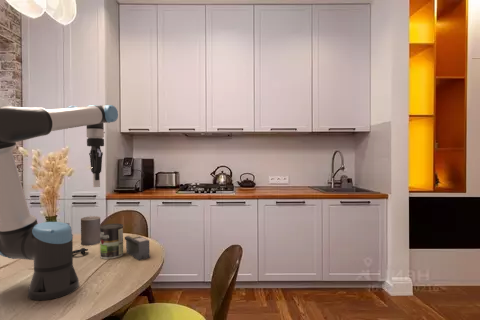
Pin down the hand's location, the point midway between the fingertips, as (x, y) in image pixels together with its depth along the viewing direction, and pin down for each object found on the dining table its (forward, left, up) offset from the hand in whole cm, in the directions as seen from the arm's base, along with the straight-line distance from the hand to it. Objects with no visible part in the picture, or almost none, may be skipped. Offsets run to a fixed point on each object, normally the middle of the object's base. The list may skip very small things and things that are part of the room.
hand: (96, 186), depth 145 cm
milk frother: (-11, +8, -33) cm, 35 cm away
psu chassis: (+13, -16, -32) cm, 38 cm away
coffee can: (+4, -8, -33) cm, 34 cm away
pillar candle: (+3, +22, -33) cm, 39 cm away
